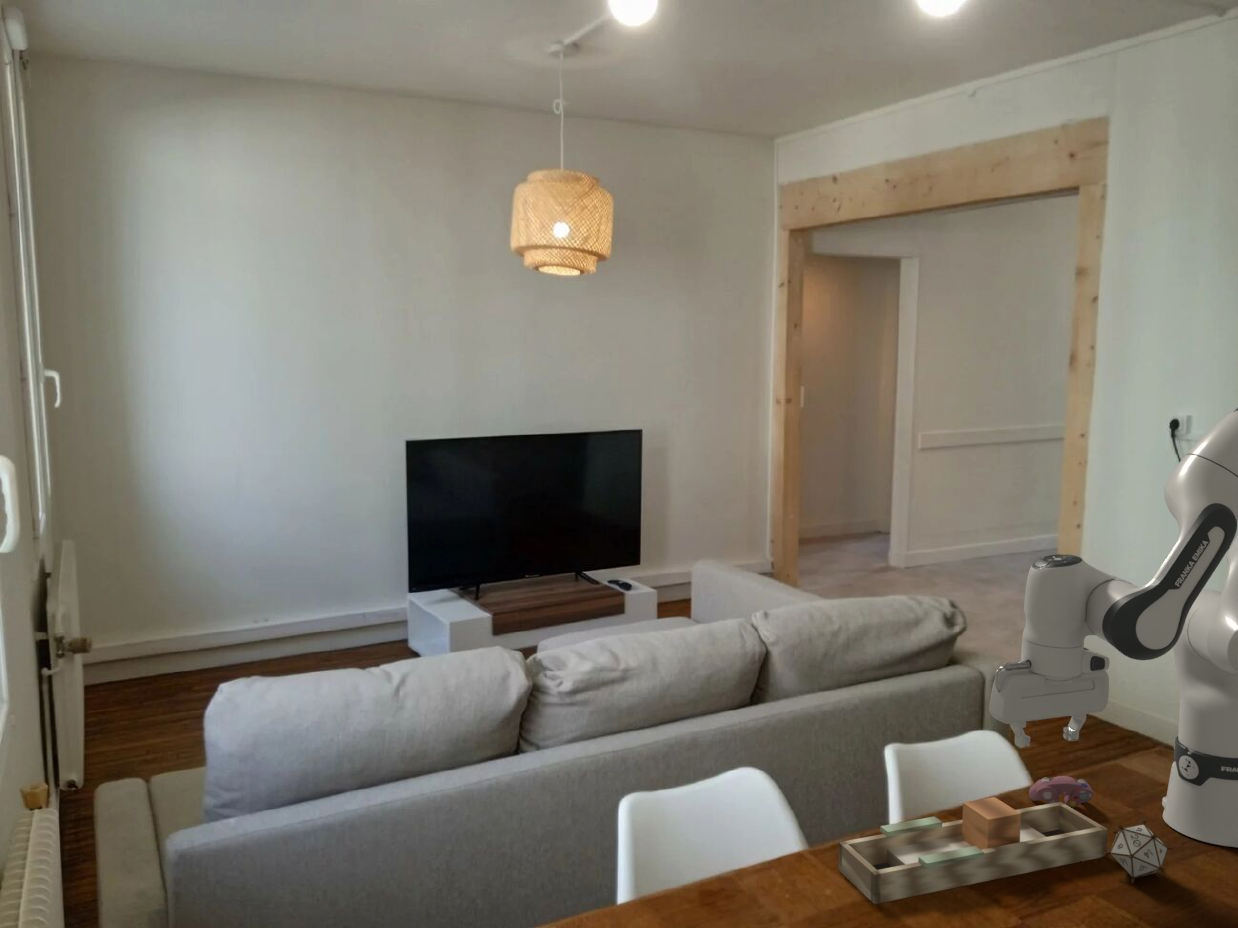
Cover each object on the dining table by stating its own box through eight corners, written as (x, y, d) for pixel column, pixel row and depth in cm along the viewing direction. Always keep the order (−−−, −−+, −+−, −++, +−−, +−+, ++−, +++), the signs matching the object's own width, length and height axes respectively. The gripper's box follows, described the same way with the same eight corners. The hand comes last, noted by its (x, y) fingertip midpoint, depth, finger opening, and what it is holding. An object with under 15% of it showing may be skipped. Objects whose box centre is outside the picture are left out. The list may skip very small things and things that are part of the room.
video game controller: (1032, 814, 170) (1038, 787, 167) (1026, 792, 174) (1032, 766, 170) (1091, 817, 169) (1099, 790, 165) (1084, 795, 173) (1091, 769, 169)
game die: (1150, 903, 146) (1188, 873, 139) (1094, 879, 147) (1129, 848, 141) (1147, 852, 153) (1183, 821, 146) (1093, 829, 154) (1126, 797, 147)
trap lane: (1055, 824, 163) (1056, 794, 163) (1111, 859, 152) (1112, 826, 151) (834, 866, 150) (835, 833, 150) (878, 907, 139) (878, 872, 138)
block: (993, 832, 156) (994, 796, 155) (1019, 850, 150) (1020, 813, 149) (961, 838, 154) (963, 802, 153) (987, 856, 148) (988, 819, 147)
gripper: (1010, 670, 146) (1005, 758, 147) (1118, 658, 152) (1112, 743, 153) (982, 657, 152) (978, 742, 153) (1087, 646, 158) (1082, 728, 159)
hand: (1046, 742), depth 153 cm, fingers open, 8 cm apart
